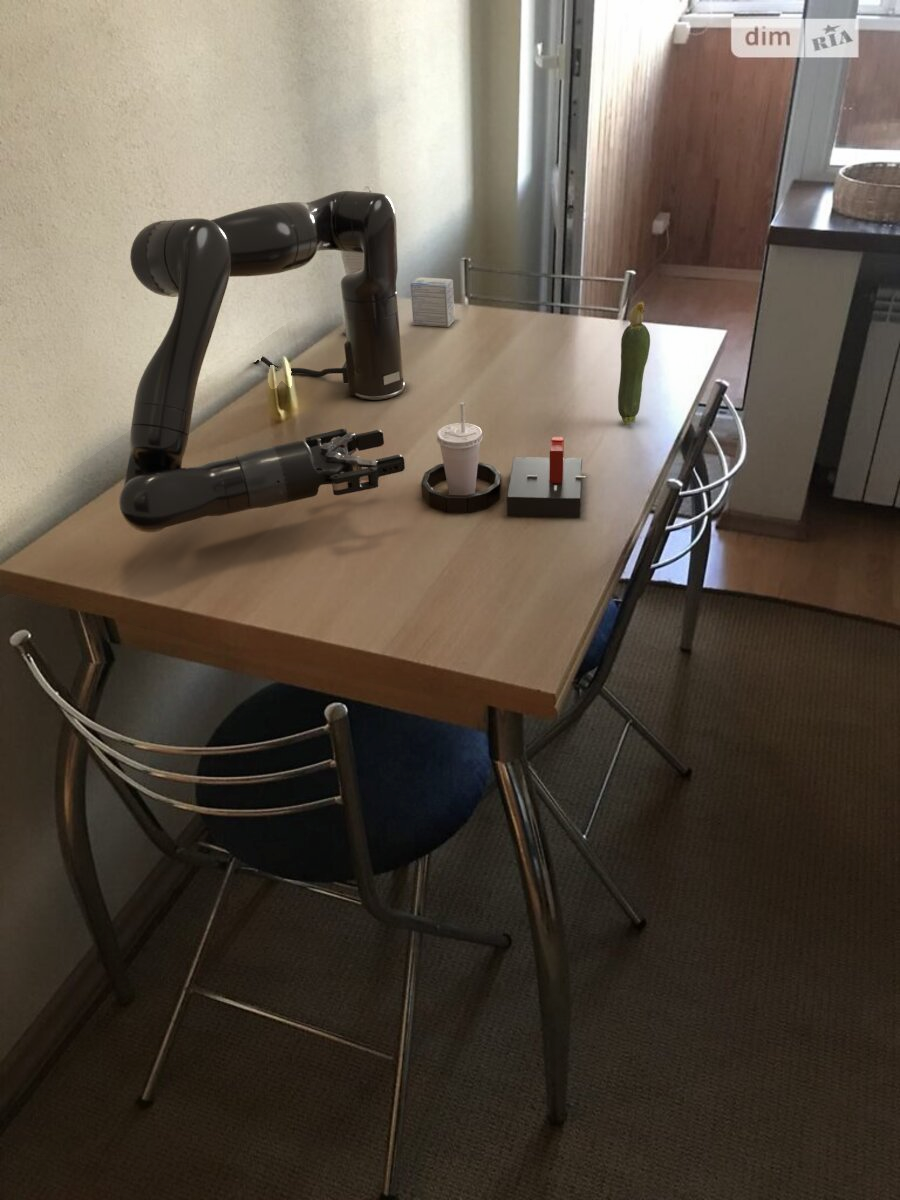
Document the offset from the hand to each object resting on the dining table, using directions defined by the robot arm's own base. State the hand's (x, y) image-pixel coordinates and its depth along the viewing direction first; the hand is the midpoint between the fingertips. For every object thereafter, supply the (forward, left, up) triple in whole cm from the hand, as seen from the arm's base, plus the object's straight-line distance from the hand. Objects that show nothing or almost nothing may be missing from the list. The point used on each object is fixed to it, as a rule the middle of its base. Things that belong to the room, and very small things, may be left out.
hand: (392, 449), depth 129 cm
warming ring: (+9, +5, -9) cm, 14 cm away
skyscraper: (-19, +72, -10) cm, 75 cm away
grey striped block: (-6, +77, -10) cm, 78 cm away
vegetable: (+33, +30, -10) cm, 46 cm away
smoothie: (+9, +5, -10) cm, 14 cm away
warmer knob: (+22, +5, -6) cm, 23 cm away
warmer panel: (+21, +5, -9) cm, 23 cm away
